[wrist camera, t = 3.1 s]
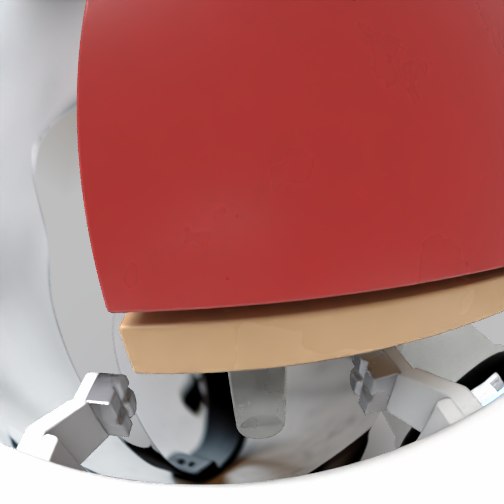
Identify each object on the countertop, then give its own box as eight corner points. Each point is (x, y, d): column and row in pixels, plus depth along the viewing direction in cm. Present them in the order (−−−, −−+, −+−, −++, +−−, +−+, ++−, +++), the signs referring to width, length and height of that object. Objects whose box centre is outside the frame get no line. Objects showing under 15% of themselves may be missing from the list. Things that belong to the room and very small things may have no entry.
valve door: (374, 264, 20) (522, 401, 6) (215, 279, 20) (201, 507, 5) (378, 183, 18) (582, 251, 4) (206, 190, 18) (116, 326, 3)
